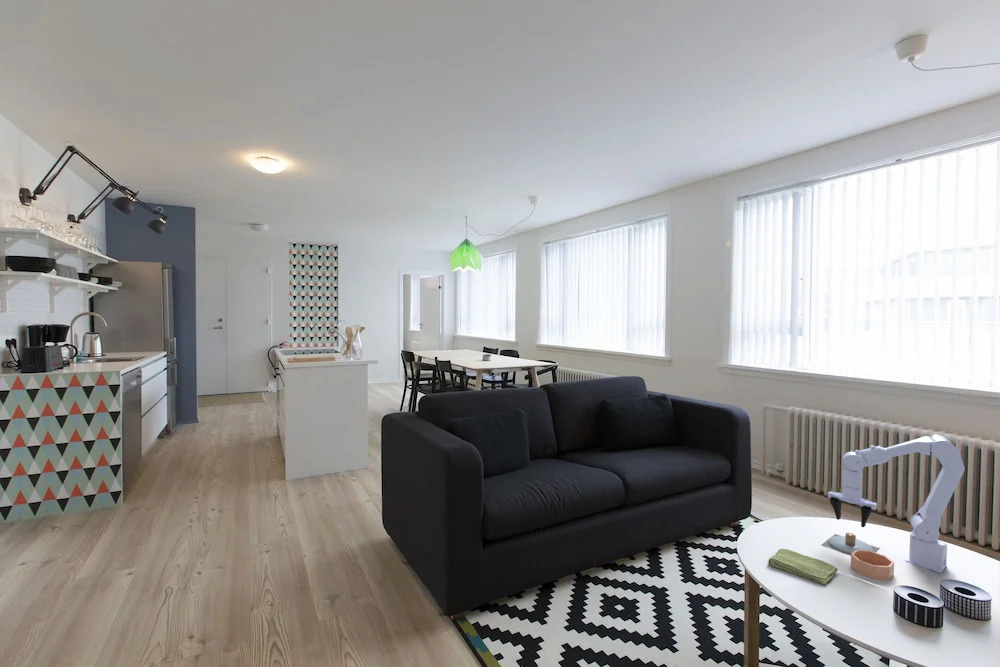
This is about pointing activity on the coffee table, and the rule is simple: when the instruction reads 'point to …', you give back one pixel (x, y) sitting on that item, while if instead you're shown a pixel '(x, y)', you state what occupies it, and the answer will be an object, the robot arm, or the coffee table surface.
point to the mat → (844, 552)
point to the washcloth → (802, 566)
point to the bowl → (872, 564)
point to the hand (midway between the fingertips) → (850, 522)
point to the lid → (848, 543)
